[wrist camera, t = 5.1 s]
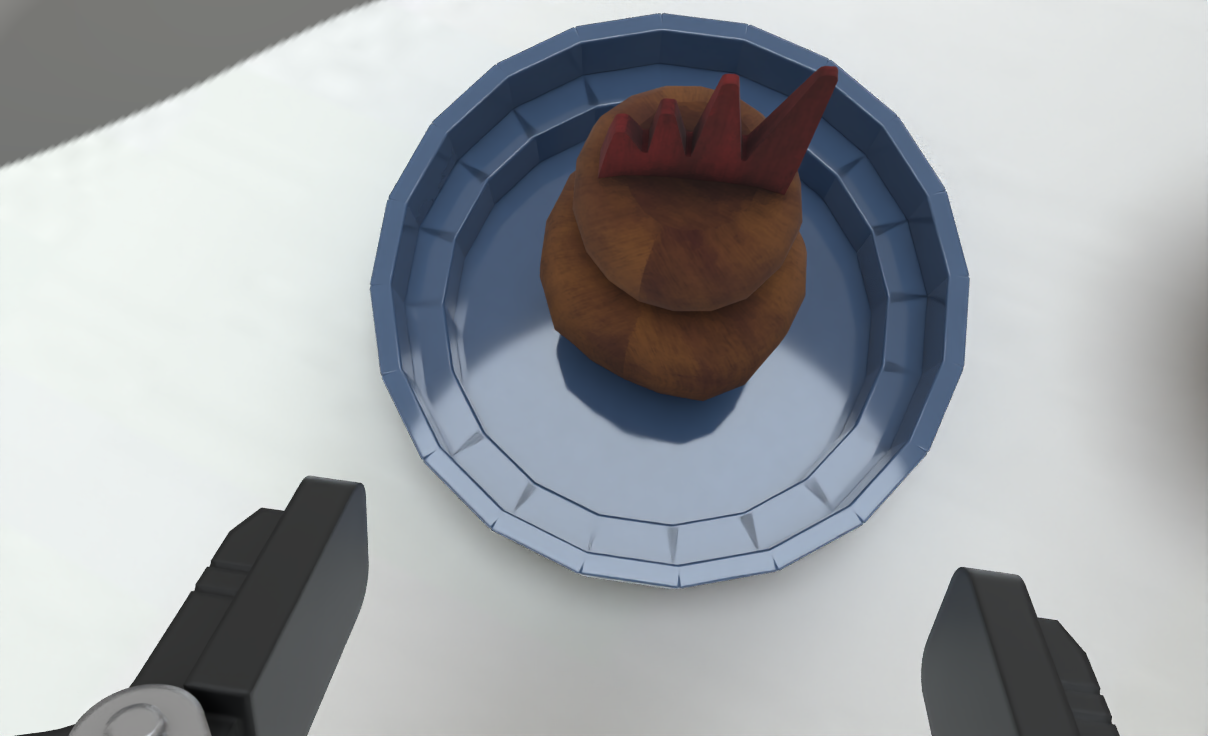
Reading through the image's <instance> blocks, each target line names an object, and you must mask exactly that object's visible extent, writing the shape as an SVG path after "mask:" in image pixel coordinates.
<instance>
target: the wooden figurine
mask: <svg viewBox="0 0 1208 736" xmlns="http://www.w3.org/2000/svg"><path fill="white" fill-rule="evenodd" d="M837 82H838V68H837V67H835V66H822V67H820V68H819V69H817V70H816V71H815V72H814V73H813V74H812V75H811V76H810V77H809V78H808V79H807V80H806V81H805V82H804V83H803V84H802V85H800V86H799V87H798V88H797V89H796V90H795V91H794V92H793V93H792V94H791V95H790V96H789V97H788V98H787V99H786V100H785V101H784V102H782V103H781V104H780V105H779V106H778V107H777V108H776V109H775V110H774V111H773V112H772V113H771V114H770V115H769V116H768V117H767V118H765V116H764V115H763V114H762V113H760V112H759V111H757V110H756V109H754V108H753V107H751V106H750V105H748V104H747V103H745V102H744V101H742V100H741V99H740V80H739V76H738V75H736V74H724V75H723V76H722V77H721V79H720V81H719V83H718V85H717V87H716V89H715V90H714V89H710V88H706V87H702V86H663V87H660V88H656V89H653V90H649V91H646V92H642V93H639V94H635V95H632V96H630V97H629V98H627V99H626V100H624V101H623V102H621V103H620V104H618V105H617V106H615V107H614V108H612V109H611V110H609V111H608V112H607V113H605V114H604V115H602V116H601V117H600V118H599V119H598V121H597V122H596V123H595V125H594V126H593V128H592V130H591V132H590V134H589V136H588V138H587V140H586V142H585V144H584V146H583V148H582V150H581V152H580V154H579V156H578V158H577V161H576V171H574V172H573V173H572V174H570V176H569V178H568V180H567V182H566V184H565V186H564V188H563V190H562V192H561V194H560V196H559V198H558V200H557V202H556V204H555V205H554V207H553V209H552V211H551V213H550V215H549V217H548V219H547V220H546V227H545V234H544V241H543V248H542V255H541V262H540V279H541V283H542V286H543V289H544V293H545V297H546V300H547V304H548V308H549V311H550V315H551V318H552V322H553V326H554V329H555V330H556V331H557V332H558V333H560V334H561V335H562V336H564V337H565V338H566V339H568V340H569V341H570V342H571V343H572V344H574V345H575V346H576V347H577V348H578V349H579V350H580V351H581V352H583V353H584V354H585V355H586V356H587V357H588V358H589V359H590V360H592V361H593V362H595V363H596V364H598V365H600V366H602V367H604V368H605V369H607V370H609V371H611V372H612V373H614V374H616V375H618V376H620V377H621V378H623V379H625V380H627V381H630V382H632V383H635V384H637V385H640V386H642V387H645V388H647V389H650V390H652V391H654V392H657V393H660V394H665V395H671V396H676V397H681V398H687V399H692V400H698V401H705V400H707V399H710V398H712V397H715V396H717V395H720V394H722V393H725V392H727V391H730V390H732V389H735V388H737V387H740V386H742V385H745V384H746V383H747V381H748V380H749V379H750V378H751V377H752V376H753V374H754V373H755V372H756V371H757V370H758V369H759V367H760V366H761V365H762V364H763V363H764V362H765V360H766V359H767V358H768V357H769V356H770V355H771V353H772V352H773V351H774V350H775V349H776V348H777V346H778V345H779V344H780V343H781V341H782V340H783V339H784V337H785V336H786V334H787V333H788V331H789V329H790V327H791V325H792V323H793V320H794V318H795V316H796V314H797V312H798V310H799V308H800V306H801V304H802V302H803V300H804V298H805V294H806V266H807V251H806V246H805V242H804V240H803V238H802V236H801V234H800V231H799V230H800V227H801V224H802V194H801V181H800V177H799V173H798V169H799V167H800V164H801V162H802V160H803V158H804V155H805V153H806V151H807V149H808V147H809V144H810V142H811V140H812V138H813V135H814V133H815V131H816V129H817V126H818V124H819V122H820V120H821V117H822V115H823V113H824V111H825V109H826V106H827V104H828V102H829V100H830V97H831V95H832V93H833V91H834V88H835V86H836V84H837Z"/></svg>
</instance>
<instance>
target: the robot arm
mask: <svg viewBox="0 0 1208 736" xmlns="http://www.w3.org/2000/svg"><path fill="white" fill-rule="evenodd" d="M368 569H369V561H368V537H367V514H366V494H365V488H364V485H363V484H362V483H357V482H350V481H343V480H336V479H329V478H322V477H315V476H307V477H305V478H304V479H303V480H302V482H301V483H300V485H299V487H298V488H297V490H296V492H295V494H294V495H293V497H292V499H291V500H290V502H289V504H288V506H287V507H286V509H285V511H281V510H274V509H267V508H260V509H259V510H258V511H256V512H255V513H254V514H252V515H251V516H249V517H248V518H247V519H245V520H244V521H243V522H241V523H240V524H239V525H237V526H236V527H235V528H233V529H232V530H231V531H230V532H229V533H228V535H227V536H226V538H225V539H224V541H223V543H222V544H221V546H220V547H219V549H218V550H217V552H216V554H215V555H214V557H213V558H212V560H211V564H210V567H207V568H206V569H205V571H204V572H203V574H202V575H201V577H200V579H199V580H198V582H197V583H196V586H195V590H194V591H191V593H190V594H189V596H188V597H187V599H186V601H185V602H184V604H183V605H182V607H181V608H180V610H179V611H178V613H177V615H176V616H175V618H174V619H173V621H172V622H171V624H170V626H169V627H168V629H167V630H166V632H165V633H164V635H163V637H162V638H161V640H160V641H159V643H158V644H157V646H156V648H155V649H154V651H153V652H152V654H151V655H150V657H149V658H148V660H147V662H146V663H145V665H144V666H143V668H142V669H141V671H140V673H139V674H138V676H137V677H136V679H135V680H134V682H133V683H132V684H131V686H130V687H129V688H127V689H124V690H121V691H119V692H116V693H114V694H112V695H110V696H108V697H106V698H104V699H103V700H101V701H100V702H98V703H97V704H95V705H94V706H93V707H91V708H90V709H89V710H88V711H87V712H86V713H85V714H84V715H83V716H82V717H81V718H80V719H79V720H78V722H77V723H76V724H74V725H71V726H68V727H64V728H61V729H57V730H52V731H46V732H39V733H32V734H24V735H17V736H307V734H308V732H309V730H310V727H311V725H312V723H313V720H314V718H315V716H316V713H317V711H318V709H319V706H320V704H321V701H322V699H323V697H324V694H325V692H326V690H327V687H328V685H329V683H330V680H331V678H332V676H333V673H334V671H335V669H336V666H337V664H338V661H339V659H340V657H341V654H342V652H343V650H344V647H345V645H346V643H347V640H348V638H349V636H350V633H351V631H352V629H353V626H354V624H355V621H356V619H357V617H358V614H359V612H360V609H361V606H362V603H363V600H364V596H365V592H366V586H367V580H368ZM921 683H922V692H923V697H924V702H925V706H926V711H927V715H928V720H929V725H930V729H931V734H932V736H1120V735H1119V733H1118V731H1117V728H1116V726H1115V725H1113V724H1112V722H1111V719H1112V716H1111V713H1110V711H1109V709H1108V706H1107V704H1106V701H1105V699H1104V696H1103V695H1100V687H1099V684H1098V682H1097V679H1096V677H1095V674H1094V672H1093V669H1092V667H1091V664H1090V662H1089V660H1088V657H1087V655H1086V653H1085V652H1084V651H1083V649H1082V648H1081V647H1080V646H1079V645H1078V644H1077V642H1076V641H1075V640H1074V639H1073V638H1072V637H1071V636H1070V634H1069V633H1068V632H1067V631H1066V630H1065V629H1064V627H1063V626H1062V625H1061V624H1060V623H1059V622H1058V621H1057V620H1051V619H1044V618H1037V615H1036V613H1035V610H1034V607H1033V604H1032V602H1031V599H1030V596H1029V594H1028V591H1027V588H1026V586H1025V583H1024V581H1023V580H1022V578H1021V577H1020V576H1018V575H1015V574H1008V573H1001V572H994V571H987V570H980V569H973V568H966V567H960V568H958V569H957V570H956V571H955V573H954V574H953V577H952V579H951V581H950V584H949V586H948V589H947V591H946V594H945V596H944V599H943V602H942V604H941V607H940V609H939V612H938V614H937V617H936V619H935V622H934V624H933V627H932V629H931V632H930V634H929V637H928V639H927V642H926V645H925V648H924V653H923V658H922V668H921Z"/></svg>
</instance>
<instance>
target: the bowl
mask: <svg viewBox="0 0 1208 736" xmlns="http://www.w3.org/2000/svg"><path fill="white" fill-rule="evenodd" d="M822 66H835V67H837V68H838V82H837V84H836V86H835V88H834V91H833V93H832V95H831V97H830V100H829V102H828V104H827V106H826V109H825V111H824V113H823V115H822V117H821V120H820V122H819V124H818V126H817V129H816V131H815V133H814V135H813V138H812V140H811V142H810V144H809V147H808V149H807V151H806V153H805V155H804V158H803V160H802V162H801V164H800V167H799V169H798V173H799V177H800V181H801V194H802V224H801V227H800V230H799V231H800V234H801V236H802V238H803V240H804V242H805V246H806V251H807V266H806V294H805V298H804V300H803V302H802V304H801V306H800V308H799V310H798V312H797V314H796V316H795V318H794V320H793V323H792V325H791V327H790V329H789V331H788V333H787V334H786V336H785V337H784V339H783V340H782V341H781V343H780V344H779V345H778V346H777V348H776V349H775V350H774V351H773V352H772V353H771V355H770V356H769V357H768V358H767V359H766V360H765V362H764V363H763V364H762V365H761V366H760V367H759V369H758V370H757V371H756V372H755V373H754V374H753V376H752V377H751V378H750V379H749V380H748V381H747V383H746V384H745V385H742V386H740V387H737V388H735V389H732V390H730V391H727V392H725V393H722V394H720V395H717V396H715V397H712V398H710V399H707V400H705V401H698V400H692V399H687V398H681V397H676V396H671V395H665V394H660V393H657V392H654V391H652V390H650V389H647V388H645V387H642V386H640V385H637V384H635V383H632V382H630V381H627V380H625V379H623V378H621V377H620V376H618V375H616V374H614V373H612V372H611V371H609V370H607V369H605V368H604V367H602V366H600V365H598V364H596V363H595V362H593V361H592V360H590V359H589V358H588V357H587V356H586V355H585V354H584V353H583V352H581V351H580V350H579V349H578V348H577V347H576V346H575V345H574V344H572V343H571V342H570V341H569V340H568V339H566V338H565V337H564V336H562V335H561V334H560V333H558V332H557V331H556V330H555V329H554V326H553V322H552V318H551V315H550V311H549V308H548V304H547V300H546V297H545V293H544V289H543V286H542V283H541V279H540V262H541V255H542V248H543V241H544V234H545V227H546V220H547V219H548V217H549V215H550V213H551V211H552V209H553V207H554V205H555V204H556V202H557V200H558V198H559V196H560V194H561V192H562V190H563V188H564V186H565V184H566V182H567V180H568V178H569V176H570V174H572V173H573V172H574V171H576V161H577V158H578V156H579V154H580V152H581V150H582V148H583V146H584V144H585V142H586V140H587V138H588V136H589V134H590V132H591V130H592V128H593V126H594V125H595V123H596V122H597V121H598V119H599V118H600V117H601V116H602V115H604V114H605V113H607V112H608V111H609V110H611V109H612V108H614V107H615V106H617V105H618V104H620V103H621V102H623V101H624V100H626V99H627V98H629V97H630V96H632V95H635V94H639V93H642V92H646V91H649V90H653V89H656V88H660V87H663V86H702V87H706V88H710V89H714V90H715V89H716V87H717V85H718V83H719V81H720V79H721V77H722V76H723V75H724V74H736V75H738V76H739V80H740V99H741V100H742V101H744V102H745V103H747V104H748V105H750V106H751V107H753V108H754V109H756V110H757V111H759V112H760V113H762V114H763V115H764V116H765V118H767V117H768V116H769V115H770V114H771V113H772V112H773V111H774V110H775V109H776V108H777V107H778V106H779V105H780V104H781V103H782V102H784V101H785V100H786V99H787V98H788V97H789V96H790V95H791V94H792V93H793V92H794V91H795V90H796V89H797V88H798V87H799V86H800V85H802V84H803V83H804V82H805V81H806V80H807V79H808V78H809V77H810V76H811V75H812V74H813V73H814V72H815V71H816V70H817V69H819V68H820V67H822ZM969 281H970V278H969V273H968V269H967V265H966V262H965V258H964V254H963V251H962V247H961V243H960V239H959V236H958V232H957V228H956V225H955V221H954V217H953V213H952V210H951V206H950V202H949V199H948V195H947V192H946V191H945V187H944V186H943V184H942V183H941V181H940V180H939V178H938V176H937V175H936V173H935V172H934V170H933V169H932V167H931V166H930V164H929V163H928V161H927V160H926V158H925V156H924V155H923V153H922V152H921V150H920V149H919V147H918V146H917V144H916V143H915V141H914V140H913V138H912V136H911V135H910V133H909V132H908V130H907V129H906V127H905V126H904V124H903V123H902V121H901V120H900V118H899V117H897V115H896V114H895V113H894V112H893V111H892V110H891V109H889V108H888V107H887V106H886V105H885V104H883V103H882V102H881V101H880V100H879V99H877V98H876V97H875V96H874V95H873V94H871V93H870V92H869V91H868V90H867V89H865V88H864V87H863V86H862V85H861V84H859V83H858V82H857V81H856V80H855V79H853V78H852V77H851V76H850V75H849V74H847V73H846V72H845V71H844V70H843V69H841V68H840V67H839V66H838V65H837V64H835V63H834V62H833V61H832V60H829V59H828V58H826V57H824V56H822V55H819V54H817V53H815V52H813V51H810V50H808V49H806V48H803V47H801V46H799V45H796V44H794V43H792V42H789V41H787V40H785V39H782V38H780V37H778V36H775V35H773V34H771V33H768V32H766V31H764V30H762V29H759V28H757V27H755V26H752V25H749V26H748V24H745V23H737V22H729V21H721V20H713V19H705V18H697V17H689V16H682V15H674V14H666V13H663V14H662V15H661V14H660V13H658V14H652V15H645V16H639V17H632V18H626V19H620V20H613V21H607V22H601V23H594V24H588V25H581V26H577V27H576V28H574V27H573V28H571V29H569V30H567V31H564V32H562V33H560V34H558V35H556V36H554V37H552V38H550V39H548V40H545V41H543V42H541V43H539V44H537V45H535V46H533V47H531V48H529V49H526V50H524V51H522V52H520V53H518V54H516V55H514V56H512V57H510V58H507V59H505V60H503V61H501V62H499V63H498V64H497V65H494V66H493V67H492V68H491V69H490V70H488V71H487V72H486V73H485V74H484V75H483V76H482V77H481V78H480V79H479V80H478V81H476V82H475V83H474V84H473V85H472V86H471V87H470V88H469V89H468V90H467V91H465V92H464V93H463V94H462V95H461V96H460V97H459V98H458V99H457V100H456V101H454V102H453V103H452V104H451V105H450V106H449V107H448V108H447V109H446V110H445V111H443V112H442V113H441V114H440V115H439V116H438V117H437V118H436V119H435V120H434V121H433V122H432V124H431V125H430V126H429V128H428V130H427V131H426V133H425V135H424V137H423V138H422V140H421V142H420V143H419V145H418V147H417V149H416V150H415V152H414V154H413V156H412V157H411V159H410V161H409V163H408V164H407V166H406V168H405V169H404V171H403V173H402V175H401V176H400V178H399V180H398V182H397V183H396V185H395V187H394V189H393V190H392V192H391V194H390V195H389V199H388V200H387V204H386V209H385V213H384V218H383V223H382V228H381V233H380V238H379V243H378V247H377V252H376V257H375V262H374V267H373V272H372V277H371V281H370V285H371V286H370V294H371V302H372V309H373V317H374V325H375V333H376V341H377V349H378V357H379V365H380V373H381V375H382V380H383V382H384V384H385V386H386V388H387V390H388V392H389V394H390V396H391V398H392V400H393V402H394V404H395V406H396V408H397V410H398V412H399V414H400V416H401V419H402V421H403V423H404V425H405V427H406V429H407V431H408V433H409V435H410V437H411V439H412V441H413V443H414V445H415V447H416V449H417V451H418V453H419V455H420V457H421V459H422V460H423V461H424V463H425V464H426V465H427V466H428V467H429V468H430V469H431V470H432V471H433V472H434V473H435V474H436V475H437V476H438V477H439V478H440V479H441V480H442V481H443V482H444V483H445V484H446V485H447V486H448V487H449V488H450V489H451V490H452V491H453V492H454V493H455V494H456V495H457V496H458V497H459V498H460V499H461V500H462V501H463V502H464V503H465V504H466V505H467V506H468V508H469V509H470V510H471V511H472V512H473V513H474V514H475V515H476V516H477V517H478V518H479V519H480V520H481V521H482V522H483V523H484V524H485V525H486V526H487V527H488V528H490V529H491V530H492V531H494V532H496V533H498V534H500V535H502V536H503V537H505V538H507V539H509V540H511V541H513V542H515V543H517V544H519V545H521V546H523V547H525V548H527V549H529V550H531V551H533V552H535V553H537V554H539V555H541V556H543V557H545V558H547V559H549V560H551V561H553V562H555V563H557V564H559V565H561V566H563V567H565V568H567V569H569V570H571V571H573V572H575V573H577V574H579V575H583V576H585V577H589V578H596V579H603V580H609V581H616V582H623V583H630V584H637V585H643V586H650V587H657V588H664V589H683V588H688V587H694V586H699V585H705V584H711V583H716V582H722V581H728V580H733V579H739V578H744V577H750V576H756V575H761V574H767V573H772V572H776V571H778V570H782V569H783V568H785V567H787V566H789V565H791V564H792V563H794V562H796V561H798V560H800V559H802V558H803V557H805V556H807V555H809V554H811V553H812V552H814V551H816V550H818V549H820V548H822V547H823V546H825V545H827V544H829V543H831V542H832V541H834V540H836V539H838V538H840V537H842V536H843V535H845V534H847V533H849V532H851V531H852V530H854V529H856V528H858V527H860V526H862V524H863V523H865V522H866V521H867V520H868V519H869V518H870V517H871V516H872V515H873V514H874V512H875V511H876V510H877V509H878V508H879V507H880V506H881V505H882V504H883V502H884V501H885V500H886V499H887V498H888V497H889V496H890V495H891V494H892V493H893V491H894V490H895V489H896V488H897V487H898V486H899V485H900V484H901V483H902V481H903V480H904V479H905V478H906V477H907V476H908V475H909V474H910V473H911V471H912V470H913V469H914V468H915V467H916V466H917V465H918V464H919V463H920V462H921V460H922V459H923V458H924V457H925V456H926V454H927V452H929V450H930V447H931V445H932V443H933V440H934V438H935V436H936V433H937V431H938V428H939V426H940V424H941V421H942V419H943V417H944V414H945V412H946V409H947V407H948V405H949V402H950V400H951V397H952V395H953V393H954V390H955V388H956V386H957V383H958V381H959V378H960V376H961V374H962V371H963V367H964V361H965V345H966V329H967V313H968V297H969Z"/></svg>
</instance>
